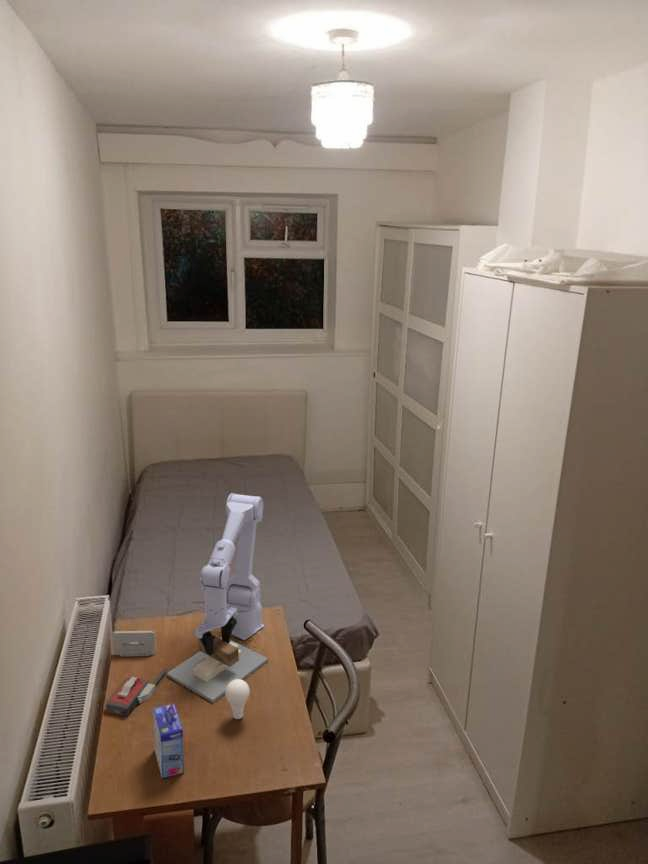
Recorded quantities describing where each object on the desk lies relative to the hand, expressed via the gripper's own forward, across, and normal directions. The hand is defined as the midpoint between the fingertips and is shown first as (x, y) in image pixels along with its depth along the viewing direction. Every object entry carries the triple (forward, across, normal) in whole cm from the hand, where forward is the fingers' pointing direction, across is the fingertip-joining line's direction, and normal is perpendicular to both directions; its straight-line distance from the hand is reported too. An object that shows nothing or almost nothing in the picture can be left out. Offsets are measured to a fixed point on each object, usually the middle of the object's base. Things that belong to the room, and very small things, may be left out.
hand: (217, 647), depth 185 cm
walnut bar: (+2, 0, 0) cm, 2 cm away
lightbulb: (+7, +11, +18) cm, 22 cm away
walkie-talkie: (+8, +20, -10) cm, 24 cm away
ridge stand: (+7, 0, 0) cm, 7 cm away
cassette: (+7, +10, -24) cm, 27 cm away
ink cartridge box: (+7, +31, +15) cm, 35 cm away
